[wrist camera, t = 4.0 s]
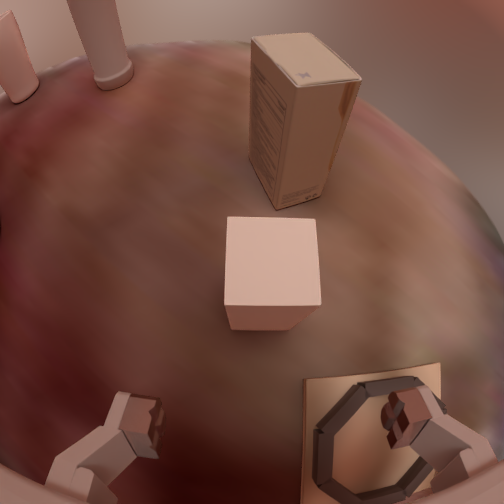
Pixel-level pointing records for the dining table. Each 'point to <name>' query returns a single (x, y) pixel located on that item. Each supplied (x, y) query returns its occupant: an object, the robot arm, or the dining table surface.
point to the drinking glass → (15, 61)
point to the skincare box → (297, 114)
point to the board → (360, 439)
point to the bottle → (102, 41)
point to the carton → (271, 272)
